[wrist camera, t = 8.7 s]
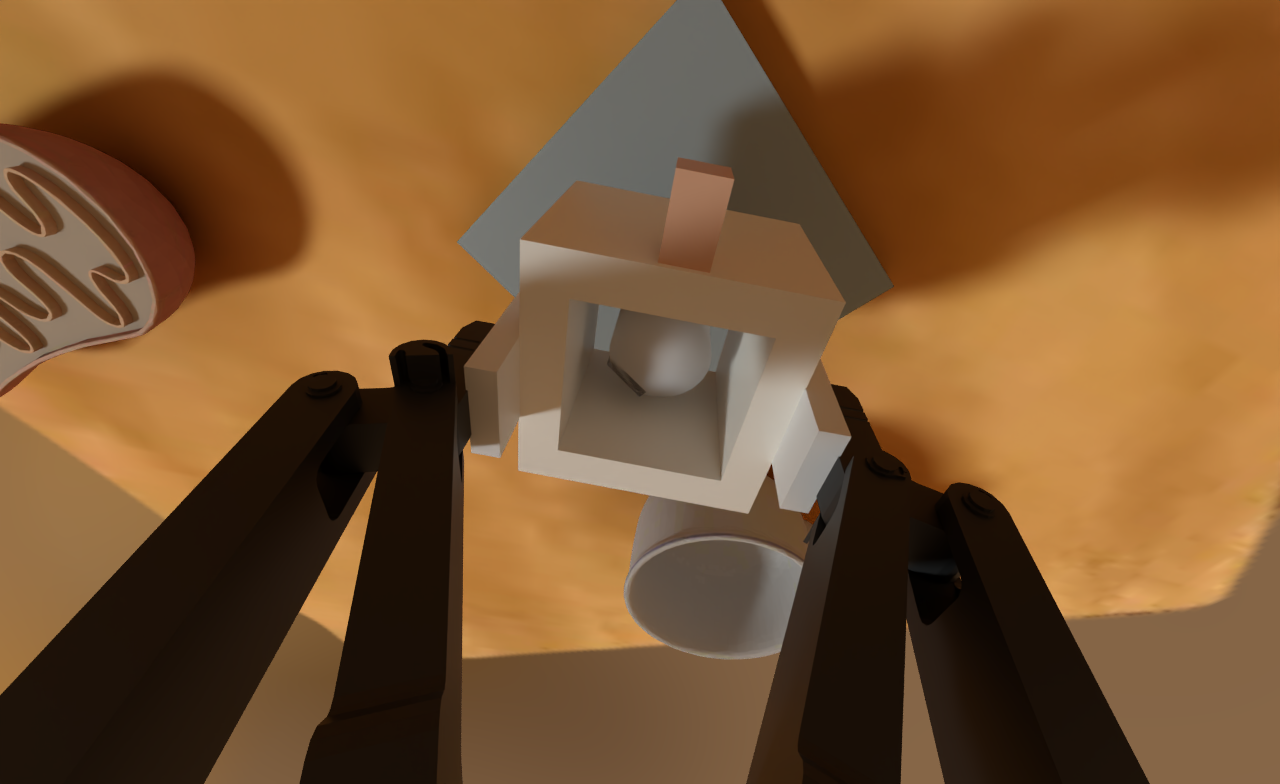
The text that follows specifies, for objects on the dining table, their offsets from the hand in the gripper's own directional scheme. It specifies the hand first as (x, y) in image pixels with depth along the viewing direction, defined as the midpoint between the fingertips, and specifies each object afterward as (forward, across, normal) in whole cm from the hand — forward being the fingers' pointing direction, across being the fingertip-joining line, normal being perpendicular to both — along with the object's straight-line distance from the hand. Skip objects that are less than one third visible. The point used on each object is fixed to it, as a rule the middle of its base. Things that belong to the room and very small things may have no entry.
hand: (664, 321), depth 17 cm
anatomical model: (+7, -33, -6) cm, 34 cm away
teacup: (+7, +8, -16) cm, 19 cm away
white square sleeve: (+1, 0, 0) cm, 1 cm away
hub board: (+7, 0, 0) cm, 7 cm away
